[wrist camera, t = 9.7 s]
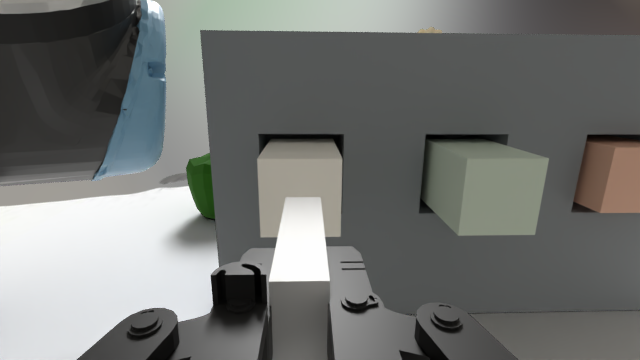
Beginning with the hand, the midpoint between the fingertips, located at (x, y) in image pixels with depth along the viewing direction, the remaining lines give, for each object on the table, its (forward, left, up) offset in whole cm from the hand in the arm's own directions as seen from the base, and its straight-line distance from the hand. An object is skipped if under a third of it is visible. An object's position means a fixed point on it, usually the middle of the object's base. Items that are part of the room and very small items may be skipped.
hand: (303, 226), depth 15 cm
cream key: (0, +7, -2) cm, 7 cm away
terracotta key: (+22, +10, -2) cm, 24 cm away
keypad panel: (+11, +13, -11) cm, 20 cm away
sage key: (+11, +7, -2) cm, 13 cm away
